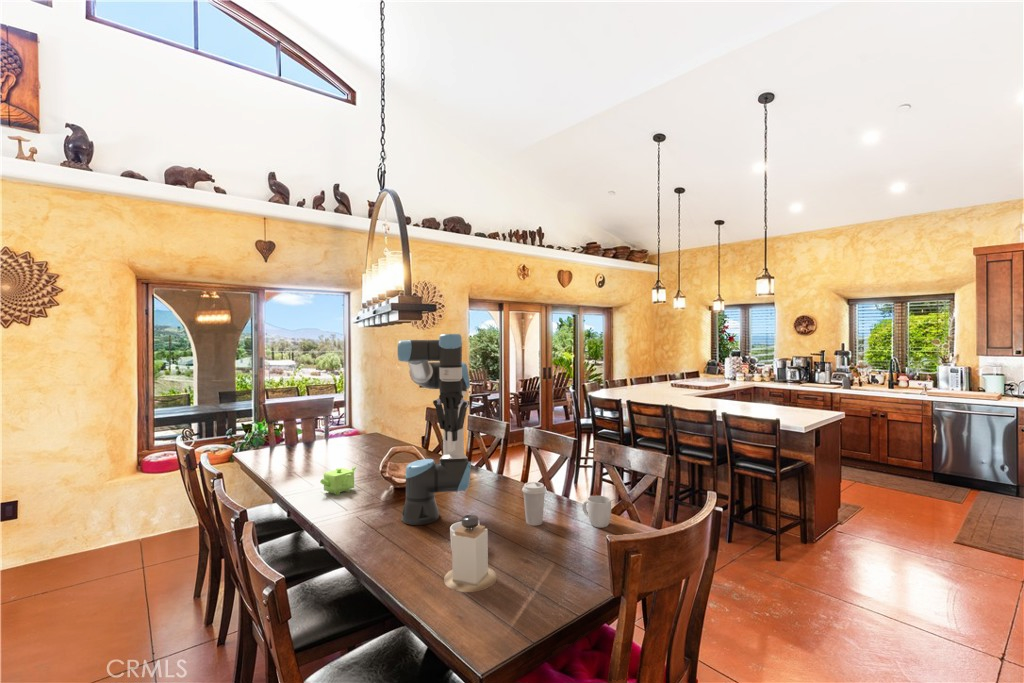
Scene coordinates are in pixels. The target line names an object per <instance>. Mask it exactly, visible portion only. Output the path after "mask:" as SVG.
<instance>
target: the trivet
mask: <svg viewBox="0 0 1024 683" xmlns="http://www.w3.org/2000/svg"><path fill="white" fill-rule="evenodd" d="M443 578H444V579H443V582H444V584H445V586H446V587H447V588H449V589H451V590H453V591H457V592H460V593H472V592H473V593H474V592H480V591H483V590H485V589H488V588H490V587H491V586H493V585H494V584H495V583H496V580H497V578H498V577H497V573H496V571H494V570H493V569H492V568H491V567H488V574H487V576H486V577H485V578H484V579H483V580H482V581H481V582H480V583H479V584H478V585H477V586H476V587H475V586H471V585H466V584H462V583H457V582H453V581H452V569H451V570H449V571H447V573H446V574H445V575H444V577H443Z"/></svg>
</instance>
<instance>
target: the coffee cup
mask: <svg viewBox="0 0 1024 683" xmlns="http://www.w3.org/2000/svg"><path fill="white" fill-rule="evenodd" d="M521 491H522V492H523V502H524V512H525V513H524V514H525V522H526V524H527V525H529V526H533V527H534V526H540V525H542V524H543V522H544V521H543V519H544V509H545V508H544V507H545V506H544V504H545V495H546V492H547V488H546V486H545V484H544V483H542V482H539V481H528V482H525V483H524V484H523V486H522V489H521Z"/></svg>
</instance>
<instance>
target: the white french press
mask: <svg viewBox="0 0 1024 683" xmlns="http://www.w3.org/2000/svg"><path fill="white" fill-rule="evenodd" d="M488 530H489V529H488V528H486V526H485V525H482V524H480V525H478V526H476V527H473V528H472V530H468V528H465V527H463V526H461V527H460V528H458V529H457V530H456V531H455V533H454V534H453V535H452V550H451V554H452V555H451V557H452V562H451V565H452V566H451V568H452V569H451V570H452V581H453V582H457V583H462V584H466V585H471V586H475V587H476V586H477V585H478V584H479V583H480V582H481V581H482V580H483V579H484V578H485V577H486V576H487V574H488V568H489V556H488V555H489V550H488V548H489V546H488V542H489V541H488V540H489V536H488V535H489V533H488Z"/></svg>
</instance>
